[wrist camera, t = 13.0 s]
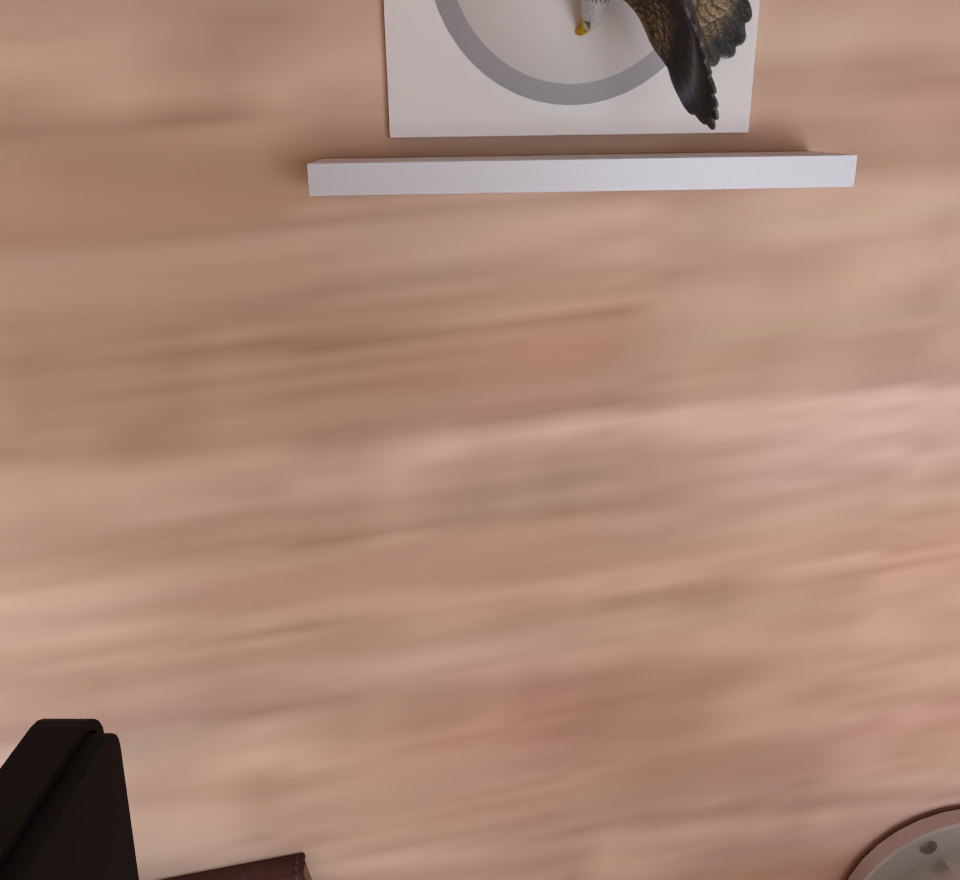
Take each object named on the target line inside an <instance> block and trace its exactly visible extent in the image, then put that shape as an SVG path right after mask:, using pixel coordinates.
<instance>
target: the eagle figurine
mask: <svg viewBox="0 0 960 880" xmlns="http://www.w3.org/2000/svg"><path fill="white" fill-rule="evenodd" d="M609 1H610V0H580V5H581V8H580V22H579V25H578V27H577V28H576V29H575V33H576V34H577V35H578V36H582V35H585V34H587V33H588V32H589V31H590V30H593V29H595V28H596V26H597V25H598V24H599V22H600V21H601V20H602V18H603V17H604V15H605V12H606V10H607V7H608V4H609ZM623 1H625V2H626V3H628V5H629V6H630V7H631V8H632V9H633V10H634V12H635V13H636V15H637V16H638V17H639V19H640V21H641V23H642V25H643V27H644V30H645V32H646V34H647V37H648V39H649V41H650V43H651V46H652V47H653V49H654V50H655V52H656V53H657V54H658V56H659V57H660V58H661V59H662V61H663V62H664V64H665V65H666V67H667V68H668V72H669V75H670V79H671V82H672V84H673V87H674V89H675V91H676V93H677V95H678V97H679V99H680V101H681V103H682V105H683V106H684V108H685V109H686V110H687V112H688V113H689V114H691V115H695V116H696V117H697V118H698V120H699V121H700V122H701V123H702V124H704V125H707V126H708V127H709V128H710V129H711V130H714V129H715V127H716V123H715V120H718V119H719V112H718V110H717V108H718V106H719V104H718V101H717V98H716V97H715V94H716V93H717V89H716V86H715V83H714V80H713V78H712V70H711V67H715V66H716V65H717V64H718V63H719V60H720V58H721V57H723V58H725V59H728V58H732V57H733V56H734V55H735V52H736V47H737V46H740V45H742V44H743V43H744V42H745V39H746V30H745V24H746V23H747V22H749V21H750V20H751V18H752V9H751V5H750V3H749V1H748V0H623ZM710 66H711V67H710Z"/></svg>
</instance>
